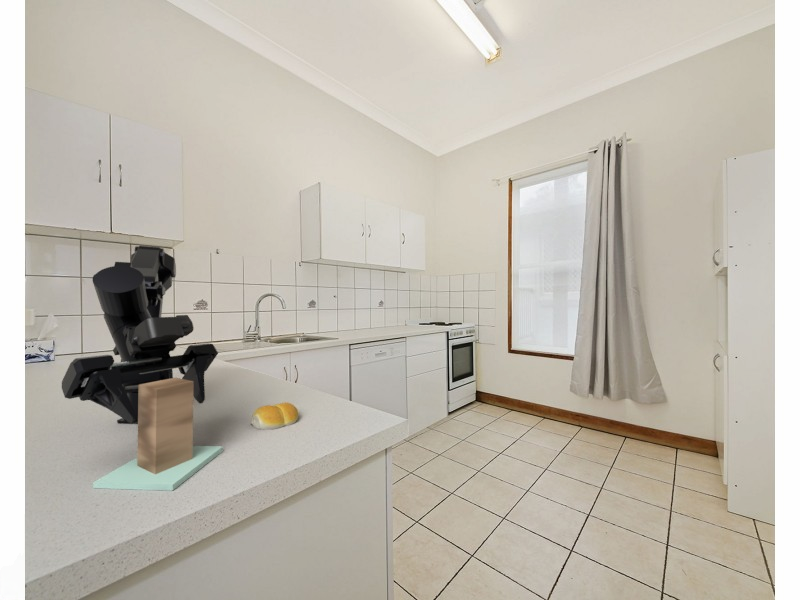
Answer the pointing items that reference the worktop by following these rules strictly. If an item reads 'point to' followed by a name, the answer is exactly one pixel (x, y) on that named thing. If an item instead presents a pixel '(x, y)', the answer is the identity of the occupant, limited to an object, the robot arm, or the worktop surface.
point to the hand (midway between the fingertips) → (171, 410)
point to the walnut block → (165, 424)
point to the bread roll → (274, 416)
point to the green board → (166, 480)
